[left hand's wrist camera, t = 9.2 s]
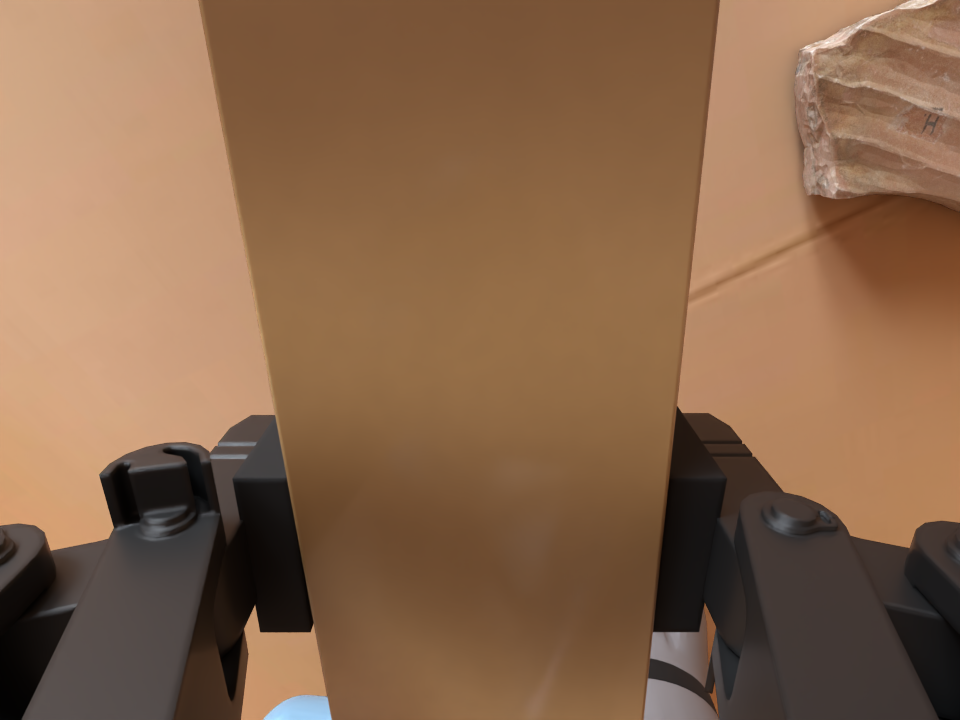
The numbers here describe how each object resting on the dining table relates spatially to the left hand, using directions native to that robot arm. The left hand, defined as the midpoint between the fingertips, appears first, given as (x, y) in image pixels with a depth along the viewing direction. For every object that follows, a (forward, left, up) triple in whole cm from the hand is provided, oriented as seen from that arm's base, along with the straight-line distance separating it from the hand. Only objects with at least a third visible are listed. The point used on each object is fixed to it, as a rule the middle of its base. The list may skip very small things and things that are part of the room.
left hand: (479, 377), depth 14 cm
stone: (0, -23, -20) cm, 31 cm away
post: (+20, -4, -1) cm, 20 cm away
